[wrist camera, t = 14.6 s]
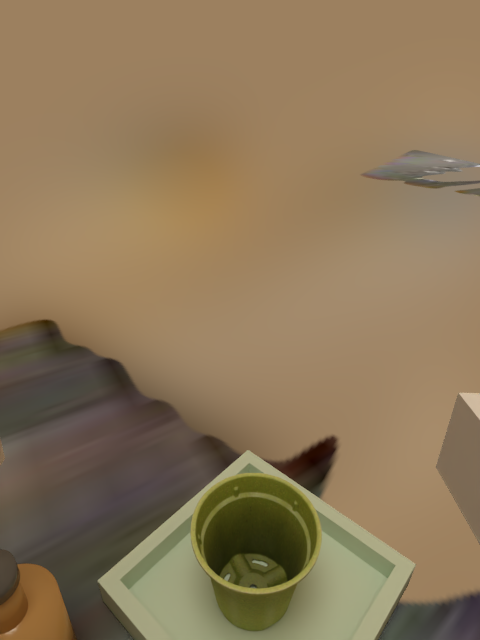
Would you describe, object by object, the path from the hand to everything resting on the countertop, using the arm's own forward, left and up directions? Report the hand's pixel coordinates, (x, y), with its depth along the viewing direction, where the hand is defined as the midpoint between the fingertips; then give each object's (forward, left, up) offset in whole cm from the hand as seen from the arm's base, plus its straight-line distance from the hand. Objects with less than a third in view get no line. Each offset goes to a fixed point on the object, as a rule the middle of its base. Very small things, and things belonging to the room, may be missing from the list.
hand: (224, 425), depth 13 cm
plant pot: (-5, +9, -29) cm, 31 cm away
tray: (-5, +10, -29) cm, 31 cm away
